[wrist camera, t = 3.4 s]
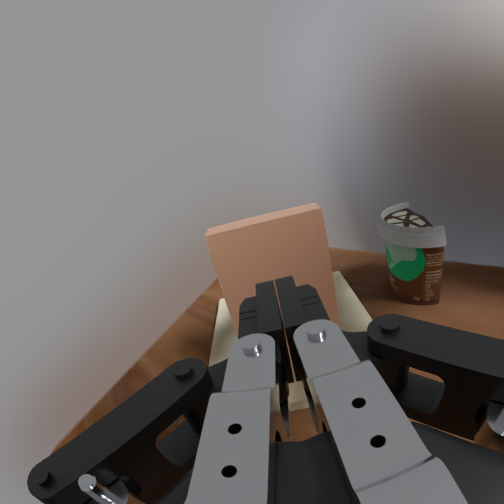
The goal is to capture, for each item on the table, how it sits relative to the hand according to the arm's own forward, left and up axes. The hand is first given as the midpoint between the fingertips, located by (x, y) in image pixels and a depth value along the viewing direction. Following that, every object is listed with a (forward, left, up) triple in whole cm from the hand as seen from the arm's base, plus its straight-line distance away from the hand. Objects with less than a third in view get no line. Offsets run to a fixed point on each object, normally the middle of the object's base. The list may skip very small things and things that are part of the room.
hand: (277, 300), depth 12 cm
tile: (0, -12, -13) cm, 18 cm away
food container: (-16, -20, -15) cm, 30 cm away
